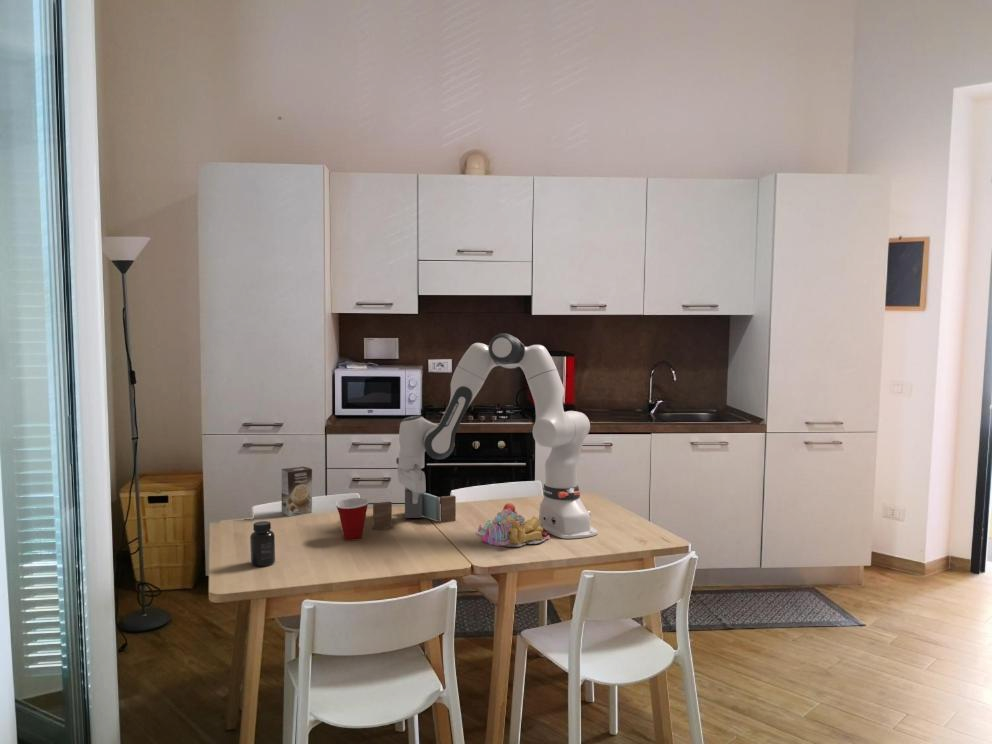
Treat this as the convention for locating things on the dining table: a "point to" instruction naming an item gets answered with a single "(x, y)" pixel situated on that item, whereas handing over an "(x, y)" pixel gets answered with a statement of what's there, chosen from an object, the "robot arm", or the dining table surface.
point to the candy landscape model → (512, 529)
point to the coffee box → (296, 491)
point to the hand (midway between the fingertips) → (411, 501)
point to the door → (431, 506)
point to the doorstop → (412, 506)
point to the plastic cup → (352, 517)
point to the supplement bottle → (262, 544)
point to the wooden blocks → (384, 512)
